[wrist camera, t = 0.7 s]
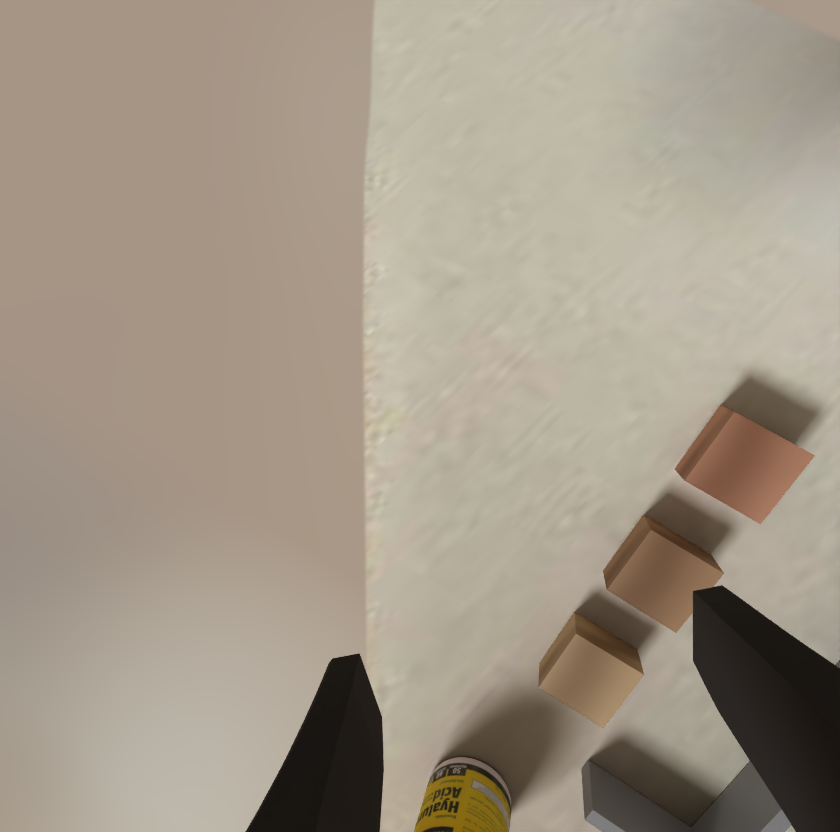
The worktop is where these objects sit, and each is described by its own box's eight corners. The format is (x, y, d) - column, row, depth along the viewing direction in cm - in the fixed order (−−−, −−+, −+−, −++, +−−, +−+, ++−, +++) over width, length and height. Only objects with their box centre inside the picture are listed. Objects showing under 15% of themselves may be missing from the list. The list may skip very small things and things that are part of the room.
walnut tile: (709, 552, 29) (723, 573, 26) (666, 608, 30) (676, 633, 27) (643, 513, 29) (650, 529, 27) (602, 569, 30) (606, 590, 28)
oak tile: (636, 647, 31) (644, 674, 28) (599, 698, 32) (603, 728, 29) (574, 610, 31) (575, 633, 29) (539, 660, 32) (538, 687, 30)
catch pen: (1041, 462, 24) (1119, 483, 21) (695, 844, 31) (713, 906, 28) (883, 382, 25) (933, 390, 22) (581, 769, 32) (584, 819, 29)
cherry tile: (791, 444, 27) (814, 455, 25) (742, 507, 28) (760, 524, 26) (719, 404, 28) (734, 411, 25) (673, 468, 29) (684, 480, 26)
